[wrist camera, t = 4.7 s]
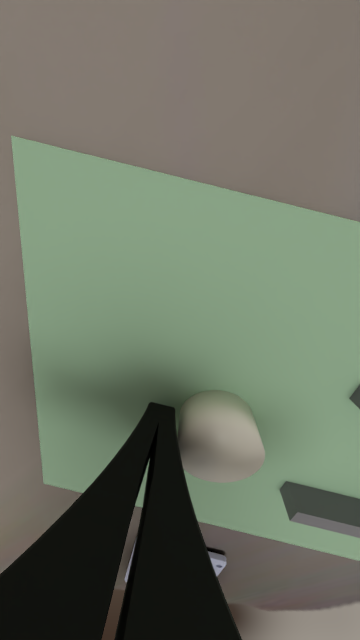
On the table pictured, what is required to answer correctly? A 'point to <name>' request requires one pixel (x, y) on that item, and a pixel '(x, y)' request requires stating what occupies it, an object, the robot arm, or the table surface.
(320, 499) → the grey frame
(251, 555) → the table surface
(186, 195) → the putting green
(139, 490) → the robot arm
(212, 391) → the stone
